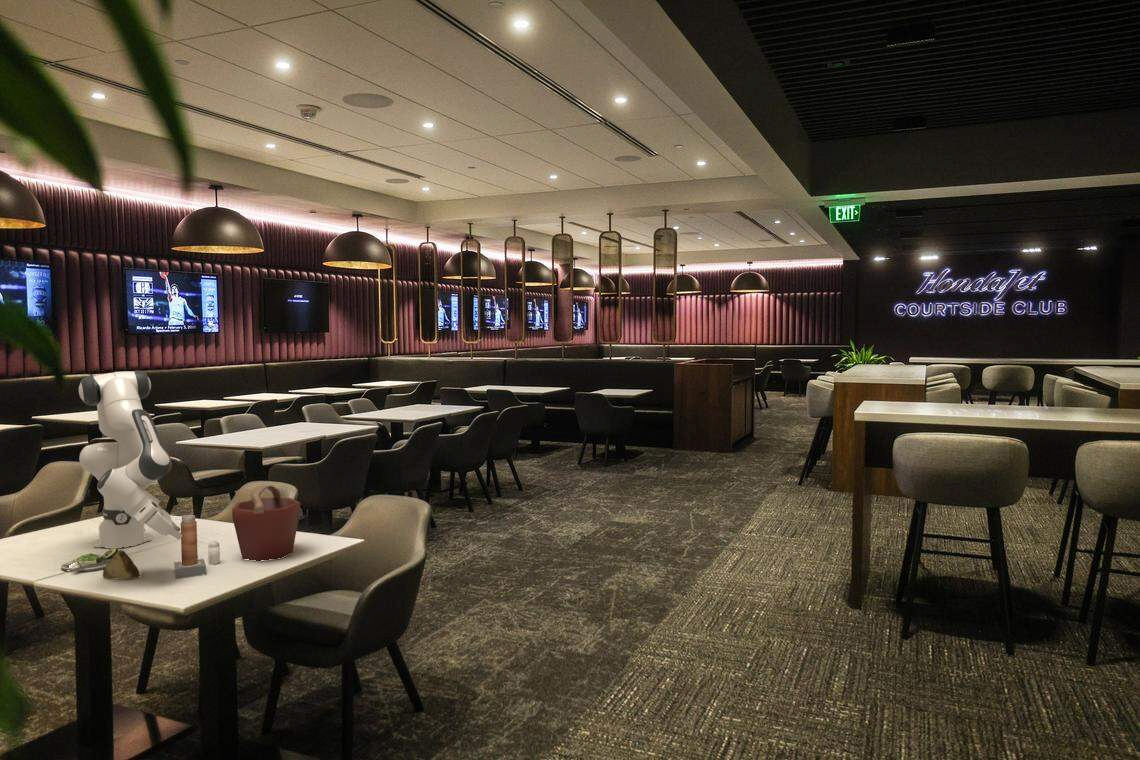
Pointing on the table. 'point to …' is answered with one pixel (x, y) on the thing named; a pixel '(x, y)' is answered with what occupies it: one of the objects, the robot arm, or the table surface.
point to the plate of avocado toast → (91, 561)
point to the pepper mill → (189, 540)
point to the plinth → (189, 569)
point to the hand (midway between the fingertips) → (179, 534)
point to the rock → (121, 567)
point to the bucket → (266, 525)
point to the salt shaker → (213, 552)
